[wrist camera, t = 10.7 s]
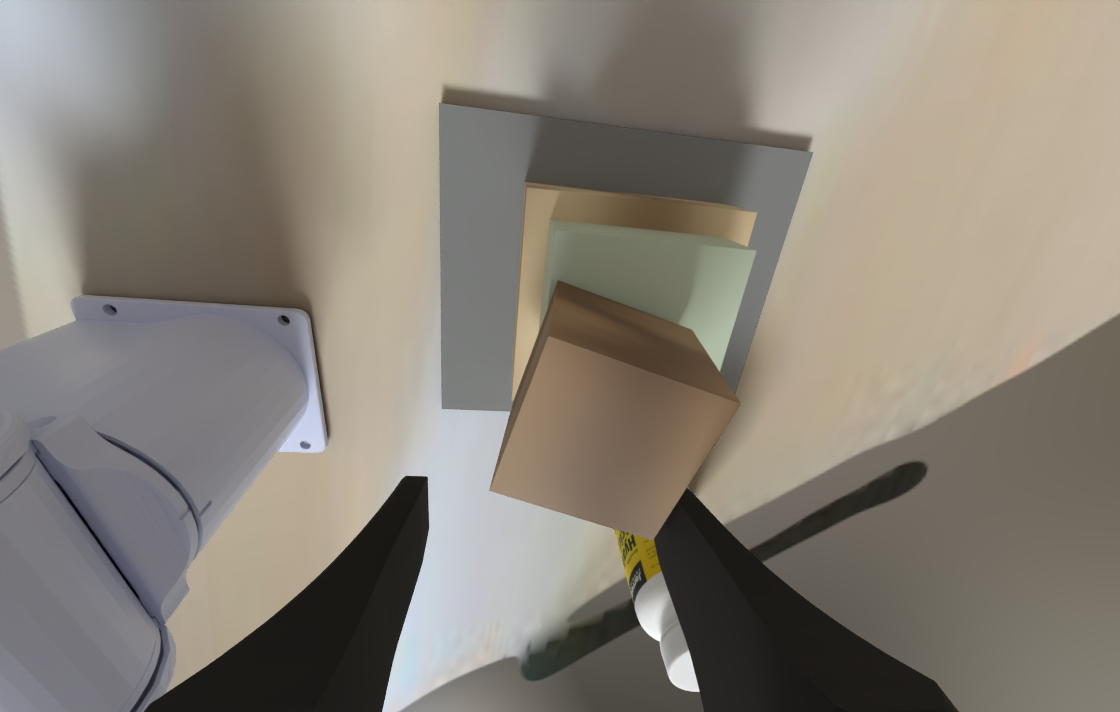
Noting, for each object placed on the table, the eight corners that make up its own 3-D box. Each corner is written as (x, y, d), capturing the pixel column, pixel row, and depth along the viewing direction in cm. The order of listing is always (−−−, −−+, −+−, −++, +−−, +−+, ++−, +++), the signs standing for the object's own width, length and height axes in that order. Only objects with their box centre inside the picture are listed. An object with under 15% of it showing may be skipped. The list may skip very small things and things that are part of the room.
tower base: (511, 370, 22) (511, 400, 19) (524, 181, 18) (526, 187, 16) (678, 378, 23) (700, 408, 21) (723, 203, 19) (757, 212, 17)
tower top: (533, 382, 19) (536, 413, 17) (549, 219, 16) (555, 230, 14) (682, 390, 20) (704, 420, 18) (724, 237, 17) (756, 250, 15)
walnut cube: (514, 399, 17) (489, 490, 12) (558, 280, 15) (548, 335, 10) (633, 439, 17) (652, 540, 13) (692, 329, 15) (740, 403, 11)
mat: (443, 403, 23) (441, 408, 23) (441, 104, 17) (439, 102, 17) (722, 414, 25) (726, 419, 25) (806, 152, 19) (813, 152, 19)
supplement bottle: (602, 482, 27) (647, 646, 18) (687, 462, 27) (774, 616, 18) (615, 541, 29) (660, 712, 20) (693, 523, 29) (772, 685, 20)
